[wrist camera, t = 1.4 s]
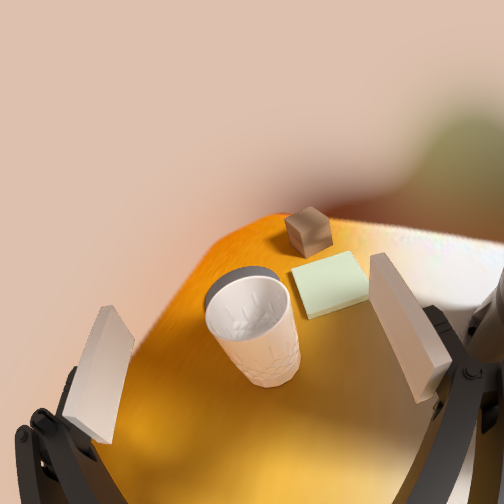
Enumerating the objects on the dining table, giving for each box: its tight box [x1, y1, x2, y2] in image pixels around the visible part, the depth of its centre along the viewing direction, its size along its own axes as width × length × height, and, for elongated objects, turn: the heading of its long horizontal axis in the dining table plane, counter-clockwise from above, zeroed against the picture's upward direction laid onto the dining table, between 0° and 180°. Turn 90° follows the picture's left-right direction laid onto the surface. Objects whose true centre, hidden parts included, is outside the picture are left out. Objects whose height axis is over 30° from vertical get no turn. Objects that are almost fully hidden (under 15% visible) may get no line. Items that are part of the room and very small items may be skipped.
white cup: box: [205, 276, 301, 388], centre depth 30 cm, size 8×8×10 cm
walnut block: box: [284, 206, 333, 259], centre depth 46 cm, size 5×5×5 cm
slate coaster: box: [205, 266, 280, 309], centre depth 42 cm, size 11×11×1 cm
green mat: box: [291, 250, 369, 320], centre depth 39 cm, size 9×9×1 cm
